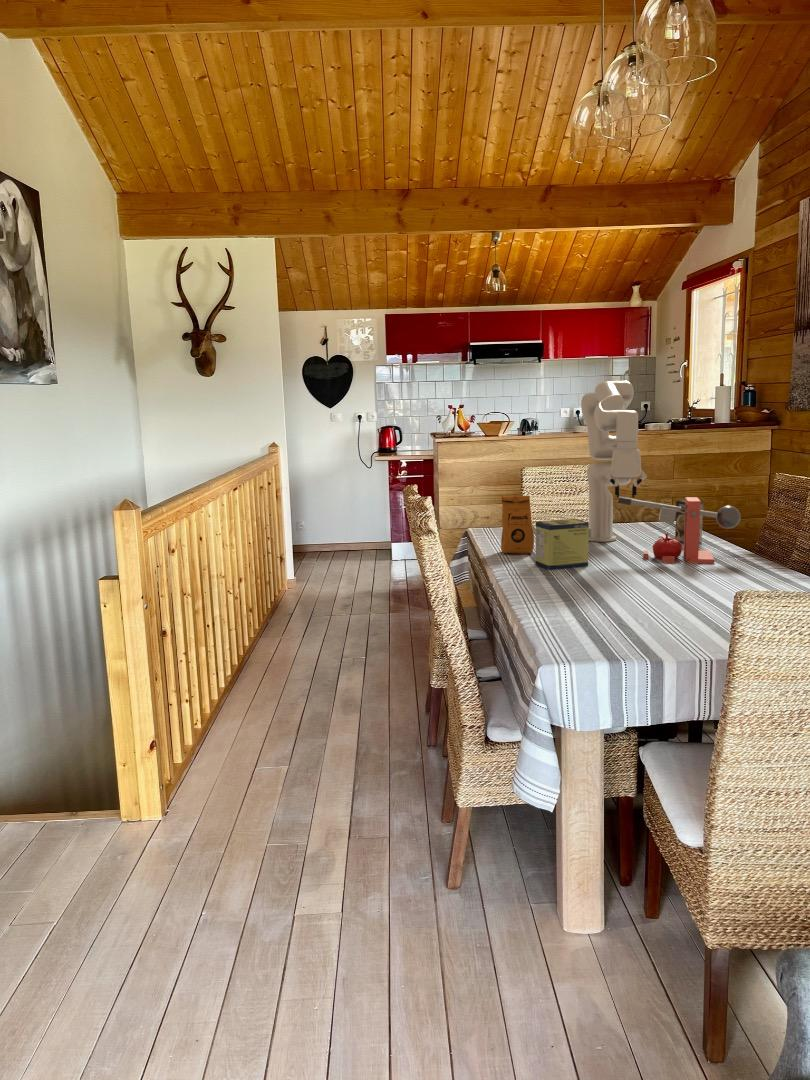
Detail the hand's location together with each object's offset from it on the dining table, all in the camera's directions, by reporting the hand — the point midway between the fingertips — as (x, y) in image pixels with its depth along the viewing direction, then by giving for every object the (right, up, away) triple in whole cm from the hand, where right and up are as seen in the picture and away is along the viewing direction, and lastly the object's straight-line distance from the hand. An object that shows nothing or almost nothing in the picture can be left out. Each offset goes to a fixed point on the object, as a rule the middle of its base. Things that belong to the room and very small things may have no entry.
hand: (625, 496), depth 282 cm
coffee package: (-36, -21, +18) cm, 45 cm away
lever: (+17, -9, -3) cm, 20 cm away
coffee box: (+34, -16, +32) cm, 49 cm away
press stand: (+18, -22, -1) cm, 29 cm away
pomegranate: (+15, -22, 0) cm, 27 cm away
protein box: (-24, -25, -7) cm, 35 cm away
